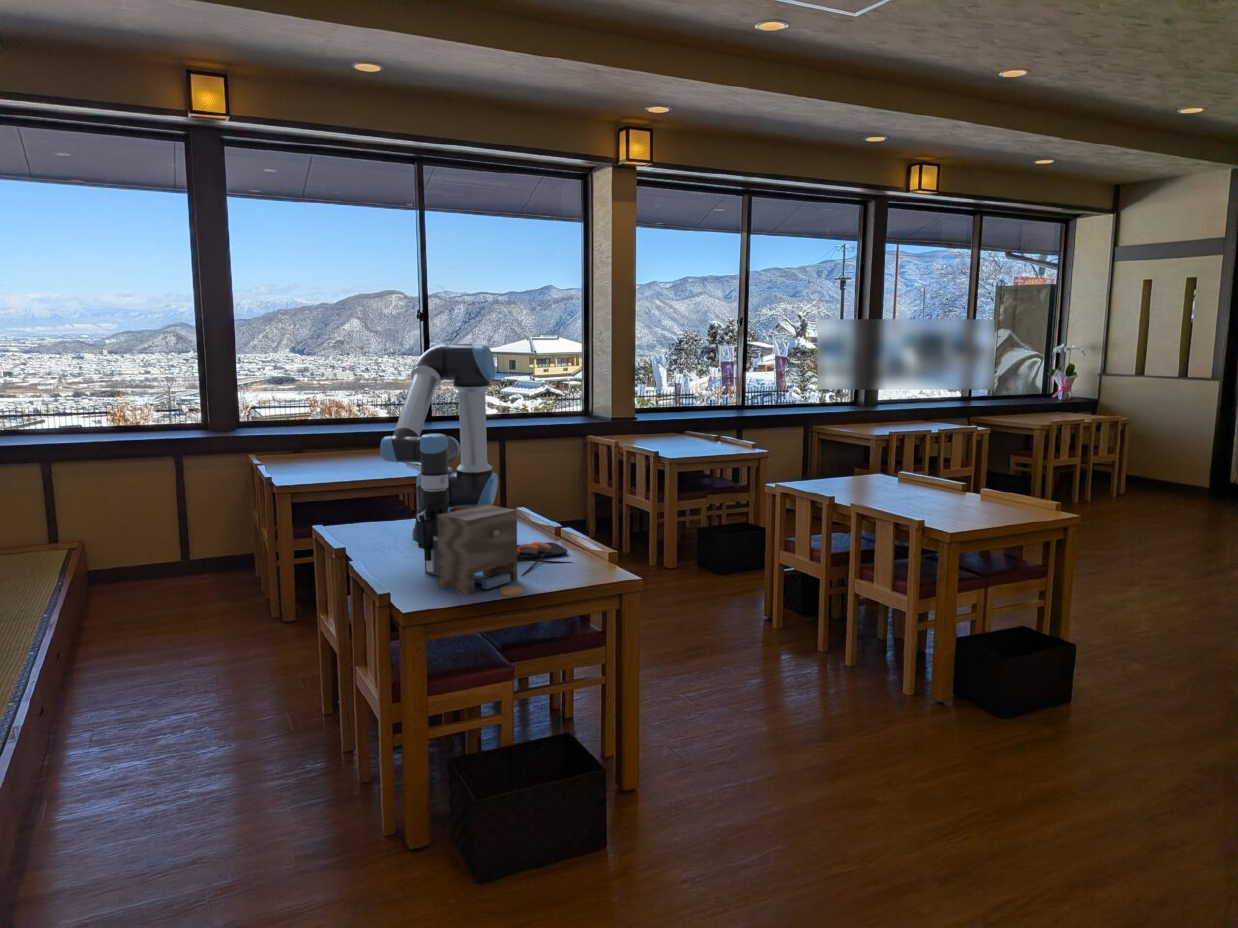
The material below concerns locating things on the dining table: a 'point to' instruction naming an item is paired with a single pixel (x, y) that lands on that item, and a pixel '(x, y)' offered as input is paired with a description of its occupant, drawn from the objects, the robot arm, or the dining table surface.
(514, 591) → the puck
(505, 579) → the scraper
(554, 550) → the sushi plate
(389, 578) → the dining table surface
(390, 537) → the dining table surface
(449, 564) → the cabinet
